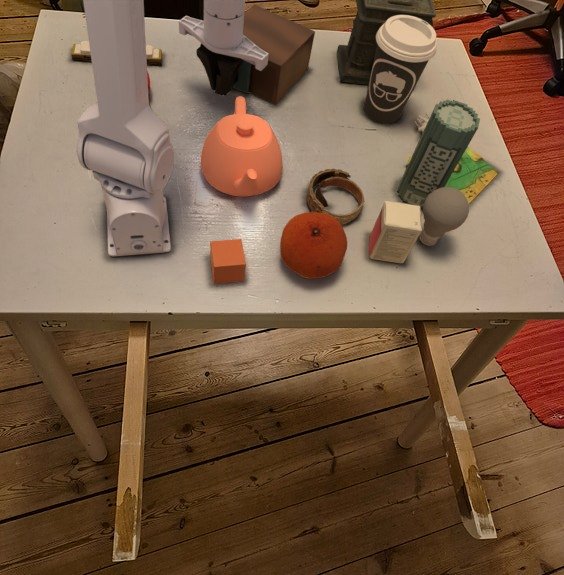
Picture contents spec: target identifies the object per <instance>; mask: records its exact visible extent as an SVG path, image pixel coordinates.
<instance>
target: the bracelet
mask: <svg viewBox="0 0 564 575" xmlns="http://www.w3.org/2000/svg"><path fill="white" fill-rule="evenodd" d="M351 176H352V175H350V173H349V172H347V171H344V170H342V169H340V168H338V169H336V168H325V169H324V170H319V171H318V172H317V173H315V174H313V176H312V177H311V178H310V180H309V183H308V187H307V190H306V191H307V192H306V203H307V207H308V208H309V209H311V212H318V213H325V214H327V215H330V216H332V217H334V218H335V219H337V220H338V222H339V223H340V224H341V225H343V224H348V223H349V222H352V221H354V219H356V218H358V216H359V214H360V213H361V212H362V210H363V207H364V203H365V196H364V193H363V190H362V189H361V187H360V186H359V185H358V184H357V183H356V181H353V180H351V179H350V178H351ZM316 187H317V188H316ZM328 187H338V188H341V189H343V190H346V191H348V192H349V193H350V194H352V195H353V196H354V197H355V198H356V200H357V201H358V202H357V203H358V207H357V208H356V209H355V210H354V211H352V212H350V213H346V214H340V213H339V214H338V213H333V212H331V211H329V210H328V209H327V208H328V207H329V204H328V200H327V199H326V197H325V196H324V193H323V192H322V189H326V188H328ZM314 188H316V189H315V194H314Z"/></svg>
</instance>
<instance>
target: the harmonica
mask: <svg viewBox="0 0 564 575" xmlns="http://www.w3.org/2000/svg"><path fill="white" fill-rule="evenodd" d="M71 59H72V60H76V61H84V62H91V63H92V60H91V53H90V46H89V40H83V41H81V43H73V44H72V50H71ZM146 60H147V66H150V65H162V60H163V50H162V48H154V46H153V45H151V44H146Z"/></svg>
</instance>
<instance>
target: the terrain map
mask: <svg viewBox="0 0 564 575" xmlns="http://www.w3.org/2000/svg"><path fill="white" fill-rule="evenodd" d="M412 155H413V153H412V154H411V155H409V156H408V158H406V159H405V161H407V163H409V162H410V160H411V157H412ZM499 173H500V172H499V171H498V170H497V169H496V168H495V167H493V166H492V165H490V164H489V163H488V162H487V161H486V160H485V159H484V158H483V157H482V156H481V155H480V154H479V153H477V152H476V151H474V150H473V149H472V148H470V146H468V147H467V148H466V150H465V152H464V154H463V155H462V157H461V159H460V161H459V162H458V164H457V166H456V168H455V169H454V171H453V173H452V175H451V176H450V178H449V180H448V182H447V183H446V185H445V187H452V188H455V189H458V190H459V191H461V192H462V193H463V194H464V195H465V197H466V198H467V200H468V204H469V205H470V204H471V202H472V201H474V200H475V198H476V197H477V196H478V195H479V194H480V193H482V191H483V190H484V189H486V187H487V186H488V185H489V184H490V183H491V181H492V180H494V179H495V177H496V176H498V174H499Z"/></svg>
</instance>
